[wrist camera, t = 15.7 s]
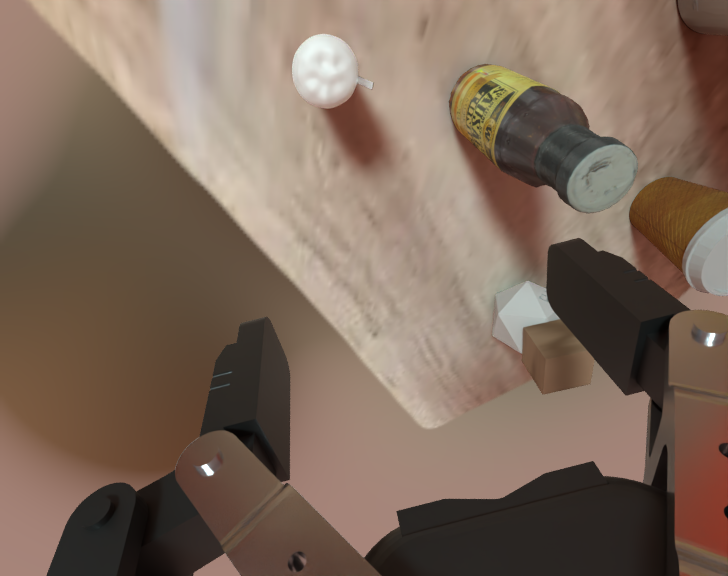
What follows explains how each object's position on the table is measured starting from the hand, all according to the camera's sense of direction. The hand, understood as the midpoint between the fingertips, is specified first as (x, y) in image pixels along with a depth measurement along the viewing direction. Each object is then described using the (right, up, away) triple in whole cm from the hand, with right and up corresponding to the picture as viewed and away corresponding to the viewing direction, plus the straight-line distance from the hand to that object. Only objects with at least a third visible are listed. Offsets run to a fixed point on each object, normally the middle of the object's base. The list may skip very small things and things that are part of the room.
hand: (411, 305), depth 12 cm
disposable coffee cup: (+31, +10, +36) cm, 49 cm away
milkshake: (-5, +20, +24) cm, 32 cm away
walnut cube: (+18, -5, +35) cm, 40 cm away
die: (+17, -1, +41) cm, 45 cm away
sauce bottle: (+9, +18, +28) cm, 34 cm away
